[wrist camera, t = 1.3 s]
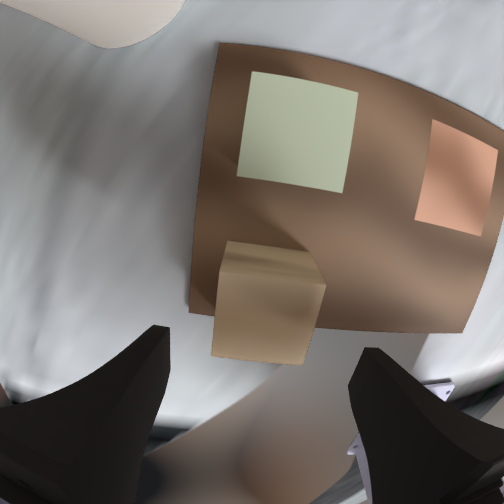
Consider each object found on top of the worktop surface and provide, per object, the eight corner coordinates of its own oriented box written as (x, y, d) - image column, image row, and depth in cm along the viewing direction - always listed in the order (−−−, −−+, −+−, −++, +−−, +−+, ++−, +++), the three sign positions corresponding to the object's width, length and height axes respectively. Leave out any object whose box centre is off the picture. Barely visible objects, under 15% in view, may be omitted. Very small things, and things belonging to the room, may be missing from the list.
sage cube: (320, 181, 15) (342, 193, 11) (241, 168, 14) (236, 175, 11) (331, 105, 13) (358, 92, 10) (252, 90, 13) (252, 71, 9)
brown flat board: (458, 329, 19) (461, 333, 18) (190, 308, 18) (188, 312, 17) (511, 139, 14) (516, 139, 13) (220, 45, 13) (219, 42, 12)
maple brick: (293, 321, 17) (302, 365, 14) (219, 312, 17) (211, 355, 13) (309, 252, 16) (326, 284, 12) (227, 240, 16) (219, 271, 12)
